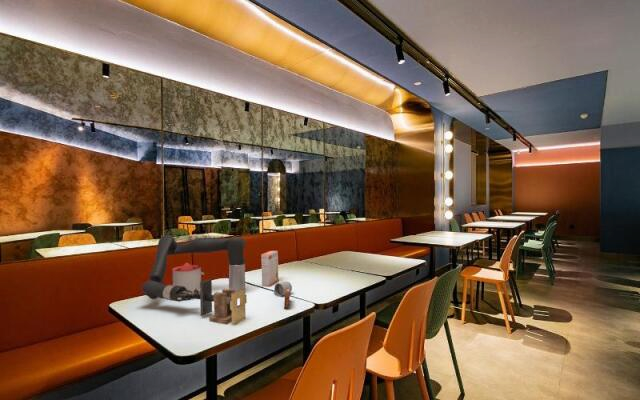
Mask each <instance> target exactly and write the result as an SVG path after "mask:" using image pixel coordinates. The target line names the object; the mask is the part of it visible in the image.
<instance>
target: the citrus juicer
mask: <svg viewBox="0 0 640 400" xmlns="http://www.w3.org/2000/svg"><path fill="white" fill-rule="evenodd" d="M202 275H204V276H205V272H203V271H202V267H201V266H200V267H199V265H197V264H190V263H188V262H185V263H184V264H183V265H180V266H175V267H173V268H172V285H176V286H183V287H185V288H186V289H187V290H191V291H194V290H195V289H197V290H198V293H199V294H200V282H202Z"/></svg>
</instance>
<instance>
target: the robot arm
mask: <svg viewBox="0 0 640 400" xmlns="http://www.w3.org/2000/svg"><path fill="white" fill-rule="evenodd" d="M246 246H247V241H246V240H245V239H244V238H243V237H240V236H235V237H229V238H227V237H226V238H219V237H197V238H194V239H192V240H191V241H189V242H186V243H177V242H176V239H175V238H174V237H173V236H172V235H170V234H166V235H163V236H161V237H160V239H159V240H158V243H157V249H156V253H155V254H156V255H155V260H154V263H153V265H152V268H151V270H150V274H149V276H148V279H149V280H147V281H145V282H144V283H142V285H141V288H140V290H141V292H142V293H143V294H144V295H146V296H147V297H148V298H149V299H151V300H155V299H157V298H160V299H164V300H168V301H173V302H179V303H180V302H183V301H191V300H200V292H199V293H198V290H197V289H195V290H194V291H191V290H187V289H186V288H185V287H183V286H176V285H173V284H164V277H165V275H166V270H167V266H168V265H167V264H168V263H167V262H168V261H167V259H168V256H174V255H181V254H183V255H184V254H209V253H210V254H211V253H217V252H221V251H227V260H228V269H229V270H228V273H229V274H228V275H229V276H228V289H232V290H235V292H236V291H238V290H240V289H245V290H246V261H245V260H246V259H245V257H244V250H245V248H246Z"/></svg>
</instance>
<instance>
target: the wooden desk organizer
mask: <svg viewBox="0 0 640 400" xmlns="http://www.w3.org/2000/svg"><path fill="white" fill-rule="evenodd" d="M212 284H213V282H212V279H205V280H203V281H202V280H201V282H200V291H199V294H200V299H199V300H200V307H199V308H200V316H201V317H204V316H206V315H208V314H210V313H212V312H213V303H214V294H213V291H212V290H213V288H212V287H213V285H212ZM231 300H232V298H231V297H227V304H230V301H231Z"/></svg>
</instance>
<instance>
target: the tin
mask: <svg viewBox="0 0 640 400" xmlns="http://www.w3.org/2000/svg"><path fill="white" fill-rule="evenodd" d="M290 296H291V292H290V288H285V295H284V303H283V304H284V306H283V308H285V309H286V308H287V309H289V308H290V298H291V297H290Z"/></svg>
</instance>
